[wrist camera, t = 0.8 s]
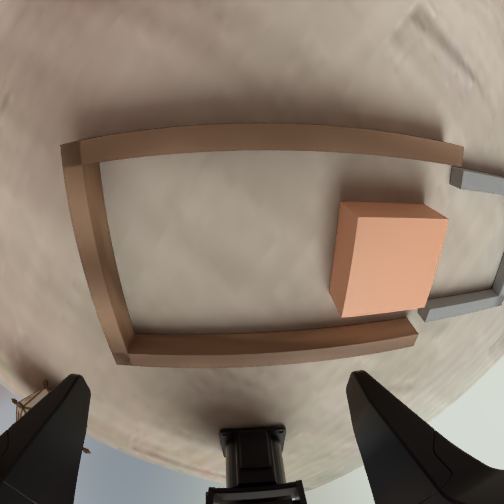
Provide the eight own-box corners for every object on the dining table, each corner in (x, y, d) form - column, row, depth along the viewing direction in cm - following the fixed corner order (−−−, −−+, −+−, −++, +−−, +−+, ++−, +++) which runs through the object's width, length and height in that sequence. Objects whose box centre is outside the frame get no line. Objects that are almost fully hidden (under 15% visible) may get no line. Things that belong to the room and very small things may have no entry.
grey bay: (494, 298, 21) (501, 305, 20) (418, 313, 20) (425, 322, 19) (526, 182, 16) (536, 186, 15) (452, 166, 15) (463, 170, 14)
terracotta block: (404, 283, 19) (424, 307, 16) (327, 289, 19) (341, 317, 16) (421, 202, 17) (448, 219, 14) (338, 199, 16) (358, 217, 14)
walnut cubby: (402, 329, 21) (413, 345, 19) (123, 345, 20) (116, 364, 18) (443, 141, 14) (463, 146, 13) (78, 140, 13) (60, 145, 12)
